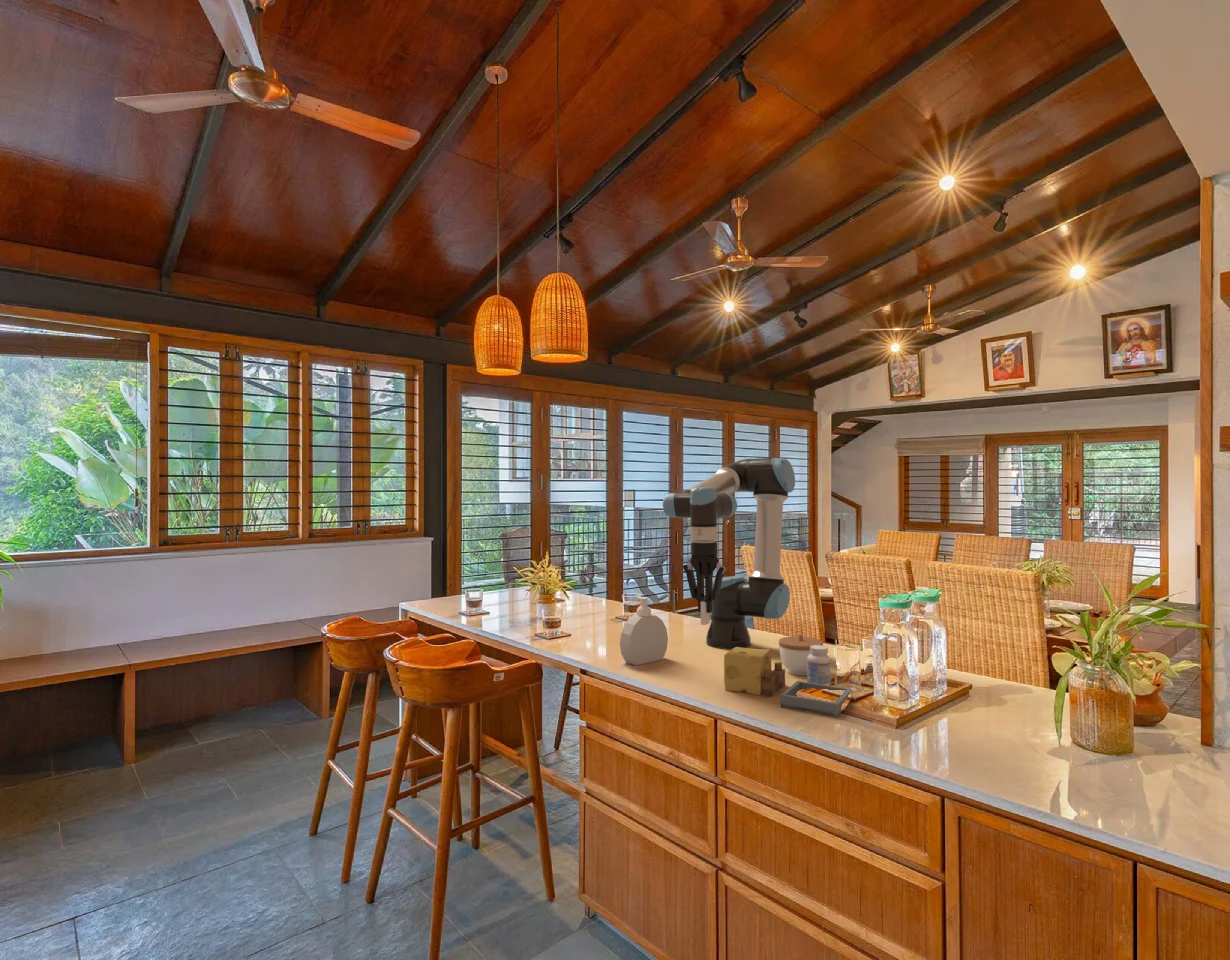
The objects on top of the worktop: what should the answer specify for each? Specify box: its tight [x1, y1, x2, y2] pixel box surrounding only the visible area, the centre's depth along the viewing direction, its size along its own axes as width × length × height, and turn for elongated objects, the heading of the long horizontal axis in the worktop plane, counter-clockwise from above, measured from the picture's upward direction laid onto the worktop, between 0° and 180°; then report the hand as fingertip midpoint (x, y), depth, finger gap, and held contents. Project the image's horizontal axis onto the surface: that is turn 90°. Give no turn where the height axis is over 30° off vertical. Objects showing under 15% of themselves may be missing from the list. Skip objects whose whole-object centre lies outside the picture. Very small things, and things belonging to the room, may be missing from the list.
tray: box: [779, 680, 853, 718], centre depth 169 cm, size 14×14×3 cm
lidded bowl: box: [778, 633, 824, 676], centre depth 197 cm, size 13×13×11 cm
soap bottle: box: [619, 596, 669, 666], centre depth 211 cm, size 16×5×20 cm, turn 127°
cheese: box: [723, 647, 772, 696], centre depth 183 cm, size 10×11×10 cm
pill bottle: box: [807, 645, 832, 685], centre depth 181 cm, size 6×6×11 cm
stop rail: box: [760, 661, 786, 698], centre depth 180 cm, size 12×2×6 cm, turn 147°
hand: (705, 623), depth 191 cm, fingers closed
